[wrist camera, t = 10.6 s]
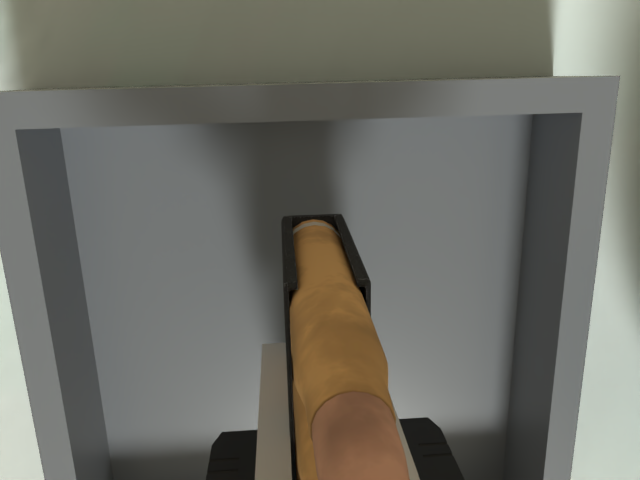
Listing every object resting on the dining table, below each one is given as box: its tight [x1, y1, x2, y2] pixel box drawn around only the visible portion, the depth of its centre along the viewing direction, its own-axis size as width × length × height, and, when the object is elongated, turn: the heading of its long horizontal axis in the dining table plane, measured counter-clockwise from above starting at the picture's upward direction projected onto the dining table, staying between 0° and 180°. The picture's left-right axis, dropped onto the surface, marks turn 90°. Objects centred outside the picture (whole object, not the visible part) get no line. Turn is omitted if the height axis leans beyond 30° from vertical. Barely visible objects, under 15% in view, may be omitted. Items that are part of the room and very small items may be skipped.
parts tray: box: [0, 76, 620, 480], centre depth 20 cm, size 18×18×4 cm
